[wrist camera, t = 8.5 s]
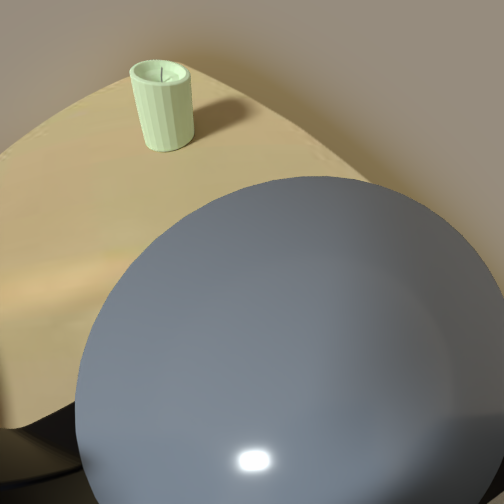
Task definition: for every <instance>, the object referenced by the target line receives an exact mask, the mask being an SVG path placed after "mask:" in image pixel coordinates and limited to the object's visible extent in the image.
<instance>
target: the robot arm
mask: <svg viewBox="0 0 504 504" xmlns="http://www.w3.org/2000/svg"><path fill="white" fill-rule="evenodd" d="M0 504H99V503H98V501H97V500H96V498H95V496H94V493H93V491H92V489H91V486H90V484H89V482H88V479H87V476H86V474H85V471H84V468H83V465H82V461H81V457H80V452H79V447H78V442H77V436H76V425H75V401H74V402H73V403H71V404H69V405H67V406H65V407H64V408H62V409H60V410H58V411H56V412H54V413H52V414H50V415H48V416H46V417H44V418H42V419H40V420H38V421H36V422H34V423H32V424H29V425H27V426H25V427H21V428H16V429H5V428H0ZM478 504H504V457H503V459H502V462H501V464H500V467H499V469H498V471H497V473H496V475H495V477H494V479H493V480H492V482H491V484H490V486H489V488H488V489H487V491H486V493H485V494H484V496H483V497H482V499H481V500H480V502H479V503H478Z"/></svg>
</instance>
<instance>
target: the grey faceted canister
mask: <svg viewBox="0 0 504 504" xmlns="http://www.w3.org/2000/svg"><path fill="white" fill-rule="evenodd" d="M75 425H76V436H77V442H78V447H79V452H80V457H81V461H82V465H83V468H84V471H85V474H86V476H87V479H88V482H89V484H90V486H91V489H92V491H93V493H94V496H95V498H96V500H97V501H98V503H99V504H478V503H479V502H480V500H481V499H482V497H483V496H484V494H485V493H486V491H487V489H488V488H489V486H490V484H491V482H492V480H493V479H494V477H495V475H496V473H497V471H498V469H499V467H500V464H501V462H502V459H503V457H504V298H503V296H502V294H501V291H500V289H499V287H498V285H497V283H496V281H495V279H494V278H493V276H492V274H491V273H490V271H489V269H488V267H487V266H486V265H485V263H484V262H483V260H482V259H481V257H480V256H479V255H478V253H477V252H476V251H475V249H474V248H473V247H472V246H471V245H470V244H469V243H468V242H467V240H466V239H465V238H464V237H463V236H462V235H461V234H460V233H459V232H458V231H457V230H456V229H454V228H453V227H452V226H451V225H450V224H449V223H448V222H446V221H445V220H444V219H443V218H441V217H440V216H439V215H437V214H435V213H434V212H433V211H431V210H430V209H428V208H427V207H426V206H424V205H422V204H420V203H418V202H417V201H415V200H413V199H411V198H409V197H407V196H405V195H403V194H401V193H398V192H396V191H393V190H390V189H388V188H385V187H382V186H379V185H376V184H372V183H368V182H364V181H359V180H355V179H347V178H339V177H330V176H308V177H294V178H287V179H279V180H272V181H269V182H265V183H261V184H257V185H253V186H250V187H246V188H243V189H240V190H238V191H235V192H233V193H230V194H228V195H225V196H223V197H220V198H218V199H216V200H213V201H212V202H210V203H208V204H206V205H205V206H203V207H201V208H199V209H197V210H196V211H194V212H192V213H191V214H189V215H187V216H185V217H184V218H183V219H181V220H180V221H179V222H177V223H176V224H175V225H173V226H172V227H171V228H169V229H168V230H167V231H165V232H164V233H163V234H162V235H160V236H159V237H158V238H156V239H155V240H154V241H153V242H152V243H151V244H150V245H149V246H148V247H147V248H146V249H145V250H144V252H143V253H142V254H141V255H140V256H139V257H138V258H137V259H136V260H135V261H134V262H133V263H132V264H131V265H130V266H129V268H128V269H127V270H126V272H125V273H124V274H123V276H122V277H121V278H120V280H119V281H118V283H117V284H116V285H115V287H114V288H113V290H112V291H111V292H110V294H109V296H108V297H107V299H106V301H105V303H104V305H103V307H102V309H101V310H100V312H99V314H98V316H97V318H96V320H95V322H94V324H93V326H92V329H91V332H90V334H89V337H88V340H87V343H86V346H85V349H84V352H83V356H82V359H81V362H80V368H79V374H78V380H77V387H76V394H75Z"/></svg>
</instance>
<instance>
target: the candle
mask: <svg viewBox="0 0 504 504" xmlns="http://www.w3.org/2000/svg"><path fill="white" fill-rule="evenodd" d="M129 72H130V77H131V82H132V87H133V92H134V97H135V101H136V106H137V110H138V115H139V119H140V123H141V127H142V131H143V135H144V139H145V143H146V145H147V146H148V148H150V149H152V150H155V151H160V152H167V151H173V150H176V149H179V148H181V147H183V146H185V145H186V144H187V143H189V142H190V141H191V140H192V138H193V136H194V121H193V107H192V93H191V76H190V72H189V71H188V70H187V69H186V68H185V67H184V66H182V65H180V64H178V63H175V62H171V61H166V60H148V61H143V62H139V63H137V64H135V65H134V66H133V67H132V68H131V69H130V71H129Z"/></svg>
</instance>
